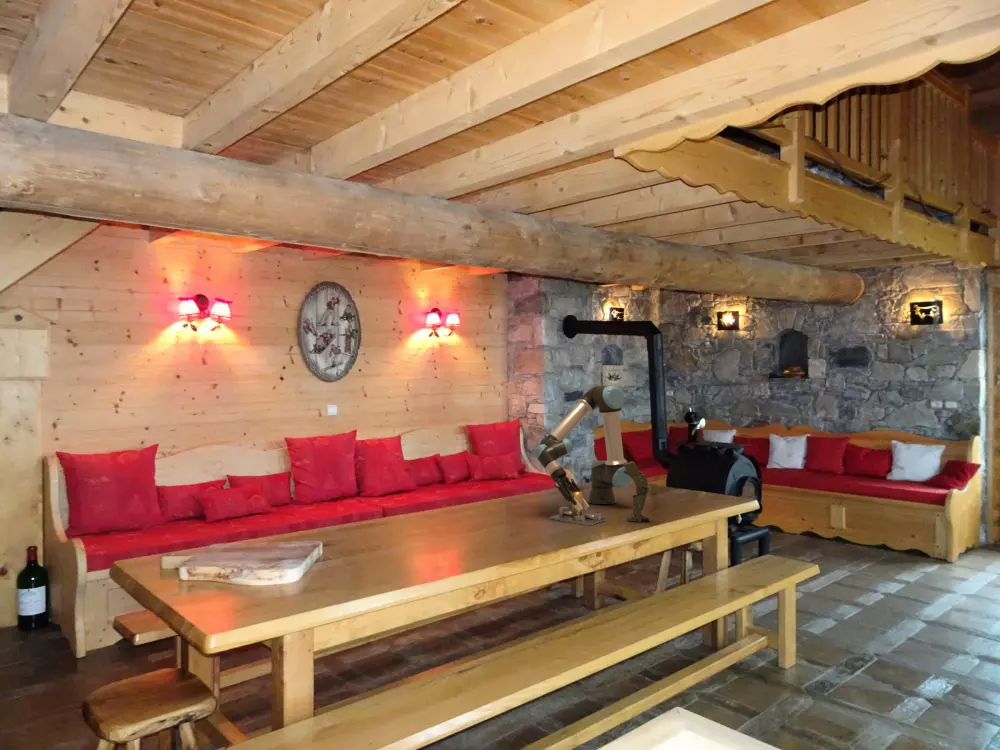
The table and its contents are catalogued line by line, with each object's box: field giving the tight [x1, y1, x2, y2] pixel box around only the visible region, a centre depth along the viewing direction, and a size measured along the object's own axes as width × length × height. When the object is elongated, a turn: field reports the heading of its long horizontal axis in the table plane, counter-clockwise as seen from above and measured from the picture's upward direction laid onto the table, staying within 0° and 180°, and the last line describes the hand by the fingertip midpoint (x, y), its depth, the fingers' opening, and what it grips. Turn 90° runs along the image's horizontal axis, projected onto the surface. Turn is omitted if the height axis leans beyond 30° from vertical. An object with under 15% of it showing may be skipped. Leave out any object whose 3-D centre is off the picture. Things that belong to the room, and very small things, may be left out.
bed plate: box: [549, 506, 607, 527], centre depth 344 cm, size 23×14×5 cm, turn 50°
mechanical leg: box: [623, 460, 651, 523], centre depth 343 cm, size 14×7×30 cm, turn 84°
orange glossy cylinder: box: [571, 490, 584, 516], centre depth 344 cm, size 5×5×11 cm
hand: (583, 508), depth 341 cm, fingers closed on orange glossy cylinder, 5 cm apart
